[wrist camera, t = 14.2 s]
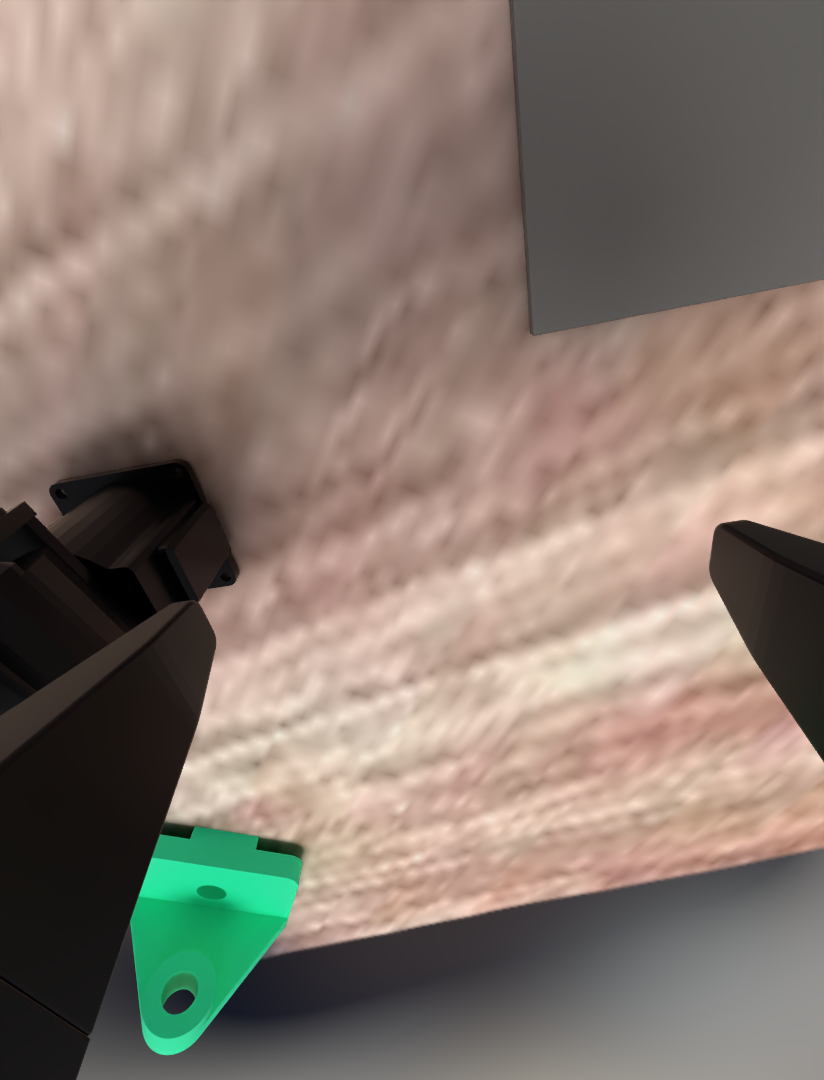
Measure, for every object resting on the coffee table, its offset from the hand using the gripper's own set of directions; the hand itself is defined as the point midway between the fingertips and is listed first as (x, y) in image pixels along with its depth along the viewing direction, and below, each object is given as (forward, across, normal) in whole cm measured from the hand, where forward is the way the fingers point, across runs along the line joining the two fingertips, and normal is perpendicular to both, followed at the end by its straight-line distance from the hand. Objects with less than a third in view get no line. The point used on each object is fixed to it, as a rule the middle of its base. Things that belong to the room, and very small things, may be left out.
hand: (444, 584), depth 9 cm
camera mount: (+13, +22, +32) cm, 41 cm away
